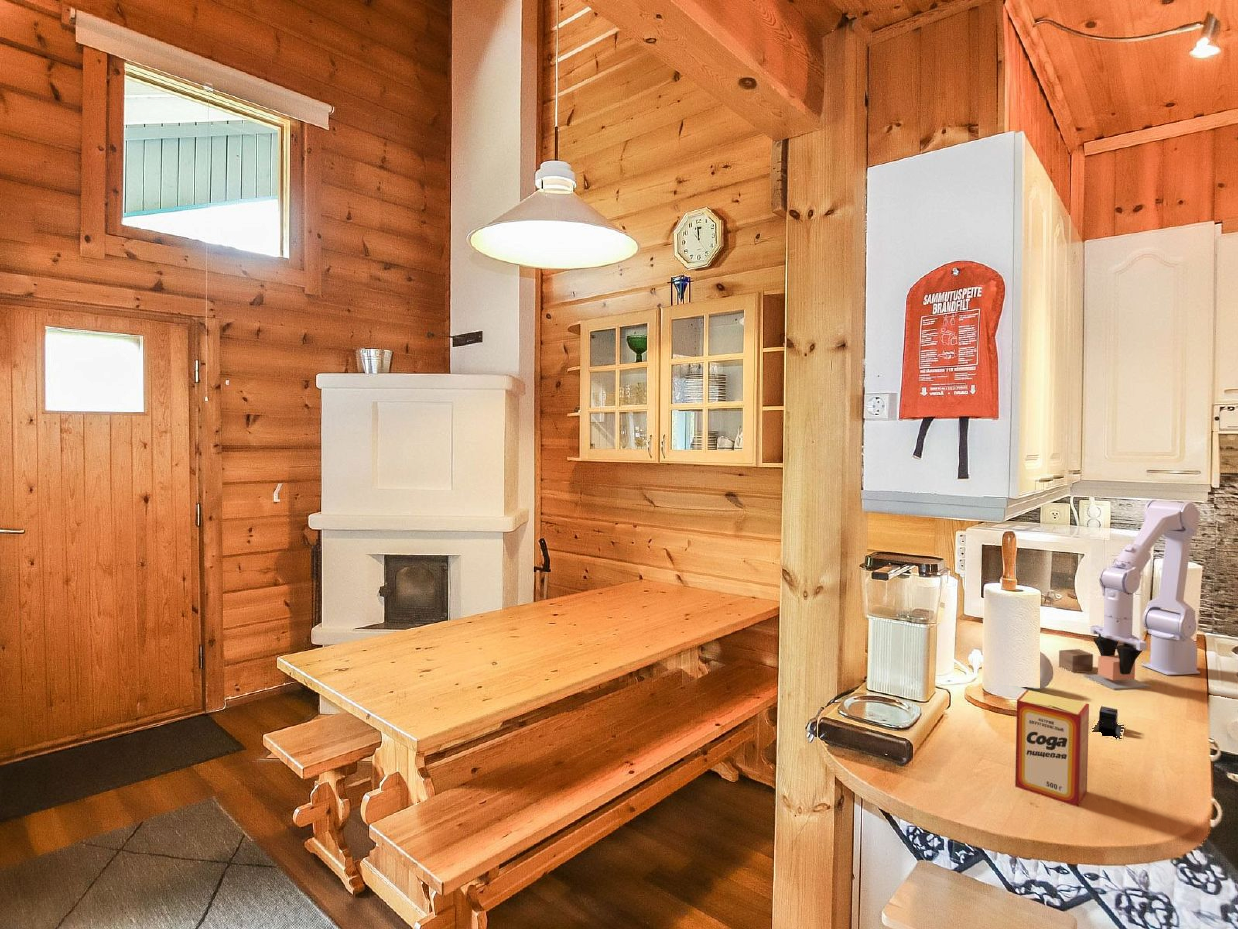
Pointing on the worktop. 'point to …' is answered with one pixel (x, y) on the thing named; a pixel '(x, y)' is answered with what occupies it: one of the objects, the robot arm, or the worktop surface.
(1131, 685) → the baseplate
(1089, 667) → the walnut block
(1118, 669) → the terracotta block
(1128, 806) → the worktop surface
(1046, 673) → the grey rounded piece
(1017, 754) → the baking soda box
